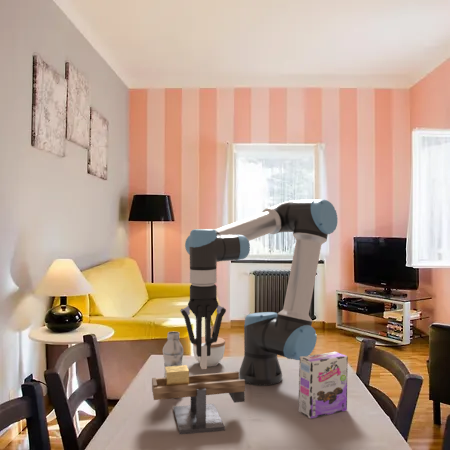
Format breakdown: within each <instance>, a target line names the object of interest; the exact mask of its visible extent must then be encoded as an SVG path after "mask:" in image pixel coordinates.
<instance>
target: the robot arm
mask: <svg viewBox="0 0 450 450" xmlns="http://www.w3.org/2000/svg"><path fill="white" fill-rule="evenodd" d="M337 227H338V214H337V210H336V209H335V206H334V205H333V203H332V202H330V201H329V200H327V199H319V198H315V199H314V198H312V199H291V200H287V201H284V202H281V203H278V204H275V205H273V206H270V207H267V208H265V209H264V210H263V211H262V212H261V213H258V214H255V215H253V216H249V217H247V218H244V219H241V220H237V221H234V222H232V223H229V224H226V225H223V226H220V227H217V228H198V229H197V228H196V229H195V228H194V229H192V230H191V231H190V233H189V235H188V237H187V238H186V239H185V245H184V246H185V251H186V252H187V254H188V255H189V283H190V285H189V302H188V303H187V306H186V307H184V308H181V309H180V313H181V315H182V317H183V318H184V322H185V325H186V326H185V327H186V330H187V334H188V338H189V342H190V343H191V344H192V345H193V344H196V354H197V356H198V357H200V363H199V367H200V369H201V370H207V369H208V366H207V356H210V354H211V351H210V350H211V344H212V343H214V342H217V339H218V337H219V333H220V329H221V324H222V321H223V317H224V315H225V314H226V312H227V309H226V308H225V307H224V306H221V305H220V304H219V301H218V299H217V297H218V296H217V294H218V292H217V291H218V290H217V287H218V286H217V285H216V283H217V266H218V265H217V264H218V262H219V263H220V262H227V261H228V262H229V261H236V262H238V261H240V260H245V259H246V258H247V257H248V256H249V254H250V251H251V248H250V247H251V245H250V241H252V240H256V239H257V238H260V237H263V236H266V235H268V234H269V235H276V234H279V233H292V236H293V237H294V239H295V246H294V251H293V256H292V260H291V261H292V262H291V267H290V272H289V277H288V282H287V287H286V288H287V289H286V293H285V297H284V303H283V308H282V309H281V310H280V311H279V312H278V313H277V312H274V311H266V312H265V311H262V312H253V313H248V314H247V315H246V316H245V318H244V325H243V327H244V329H243V331H244V332H243V333H244V335H243V337H244V338H243V340H244V341H243V345H244V347H243V348H244V354H243V359H242V362H241V365H240V369H239V371H238V372H239V378H240V380H241V379H244V380H245V384H248V385H253V386H272V385H276V384H280V382H282V380H283V371H282V369H281V364H280V361H279V359H278V356H281V357H284V358H285V359H287V360H288V359H289V360H295V361H300V357H301V356H310V355H311V354H312V353H313V351H314V350H315V347H316V343H317V339H318V338H317V337H318V335H317V334H316V329H315V328H314V327H313V326H312V325H313V320H312V318H311V317H310V314H309V313H310V309H311V303H312V299H313V292H314V287H315V281H316V276H317V271H318V266H319V259H320V254H321V249H322V248H321V247H322V245H323V244H325V243H326V242H327V241H328V236H329V235H330V234H333V233H334V232H335V230H336V229H337ZM190 311H191V312H190ZM215 312H216V317H215V321H214V325H213V329H212V327H211V325H212V323H211V321H212V315H214V313H215ZM190 313H192V314H193V315H194V317H195V335H194V331H193V327H192V322H191V318H190V316H189V315H191V314H190ZM203 318H204V337H205V343H202V337H203V334H202V333H203V332H202V331H203V330H202V329H203V328H202V326H203V325H202V323H203V322H202V321H203ZM211 329H212V330H211ZM211 336H212V337H211ZM195 338H196V339H195Z"/></svg>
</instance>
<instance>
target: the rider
mask: <svg viewBox="0 0 450 450" xmlns="http://www.w3.org/2000/svg"><path fill="white" fill-rule="evenodd" d="M164 373H165V384H166V386H173V385H184V384H189V375H190V370H189V368H188V365H186V364H185V365H183V364H182V366H169V367H165V366H164Z"/></svg>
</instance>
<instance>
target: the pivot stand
mask: <svg viewBox="0 0 450 450" xmlns="http://www.w3.org/2000/svg"><path fill="white" fill-rule="evenodd" d="M172 408H173V409H172V410H173V414H174V418H175V421H176V426H177V429H178V433H179V435H188V434H197V433H210V432H211V433H212V432H222V431H225V430H226V427H225V424H224V422H223V421H222V418H221V416H220V414H219V412H218V409H217V408H216V406H215V404H214V403H207V395H206V389H205V388H203V389H197V396H192V397H190V404H188V405H179V406H178V405H174V406H173V407H172Z"/></svg>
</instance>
